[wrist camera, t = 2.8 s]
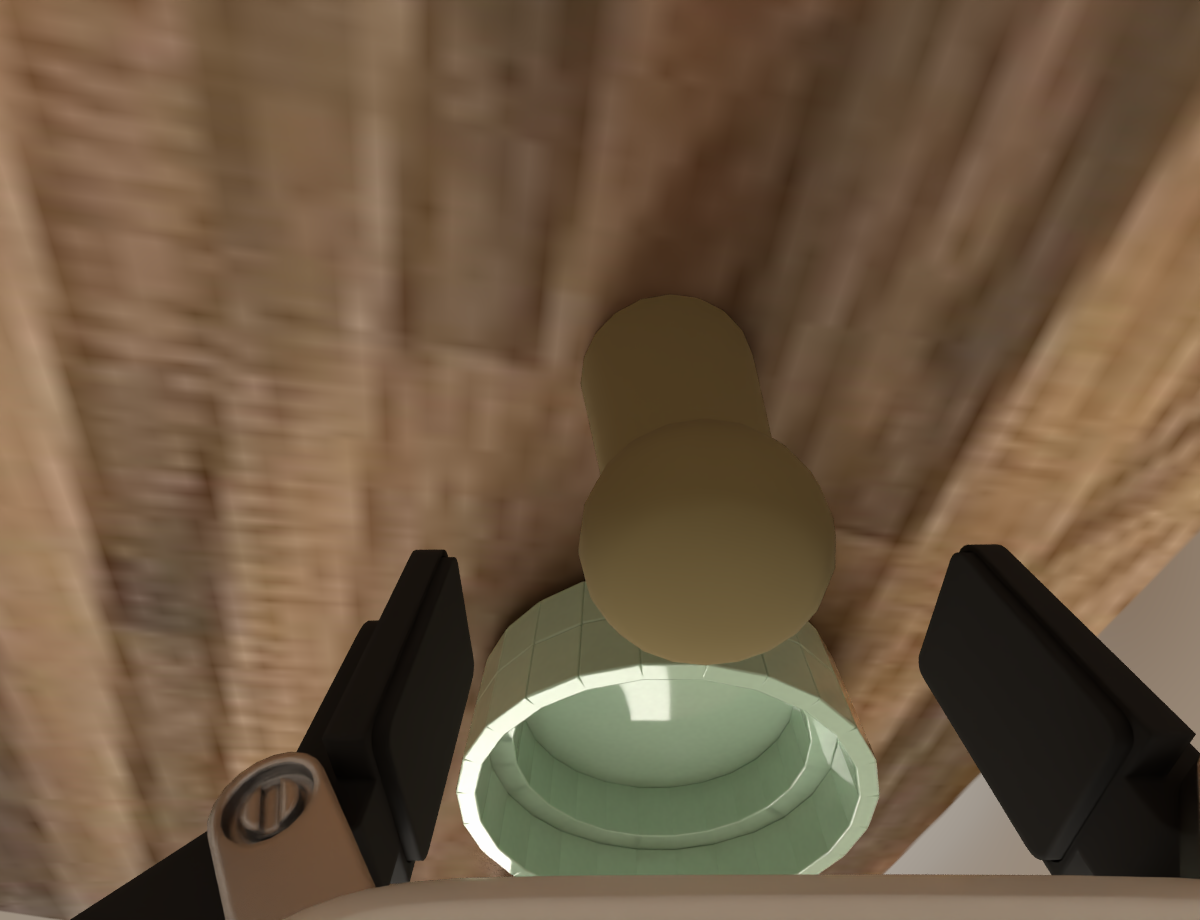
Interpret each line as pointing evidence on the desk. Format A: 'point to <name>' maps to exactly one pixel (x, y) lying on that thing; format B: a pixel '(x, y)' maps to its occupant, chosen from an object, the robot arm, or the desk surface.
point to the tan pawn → (695, 492)
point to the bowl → (660, 755)
